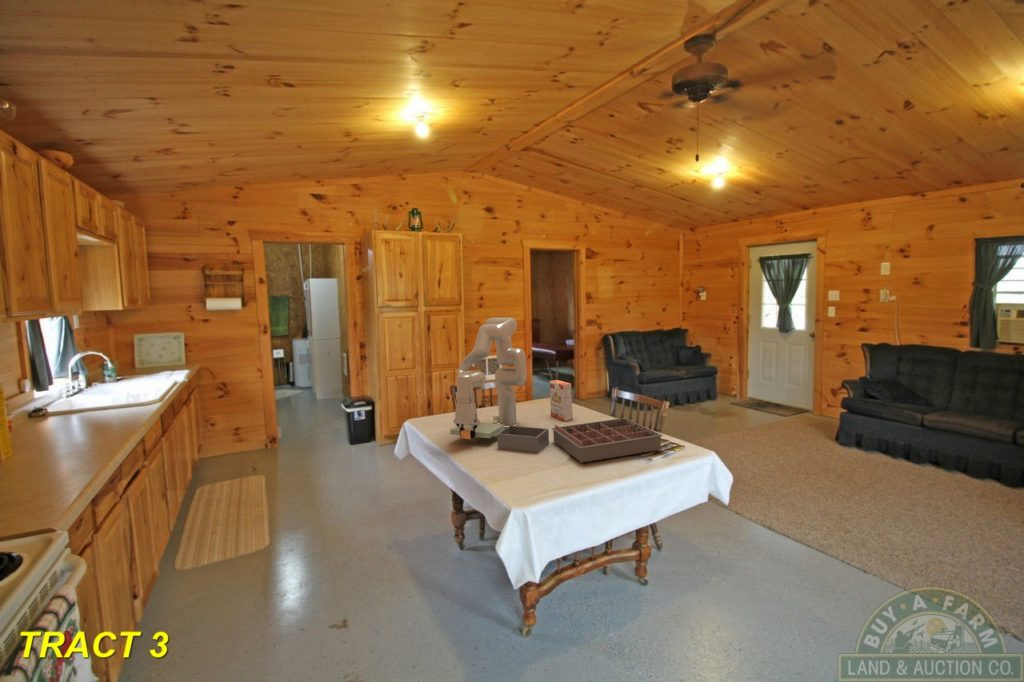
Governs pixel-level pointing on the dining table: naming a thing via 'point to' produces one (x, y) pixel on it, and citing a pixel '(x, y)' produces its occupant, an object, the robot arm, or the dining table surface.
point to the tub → (523, 439)
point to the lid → (479, 430)
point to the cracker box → (561, 400)
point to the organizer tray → (606, 439)
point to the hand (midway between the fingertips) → (467, 436)
